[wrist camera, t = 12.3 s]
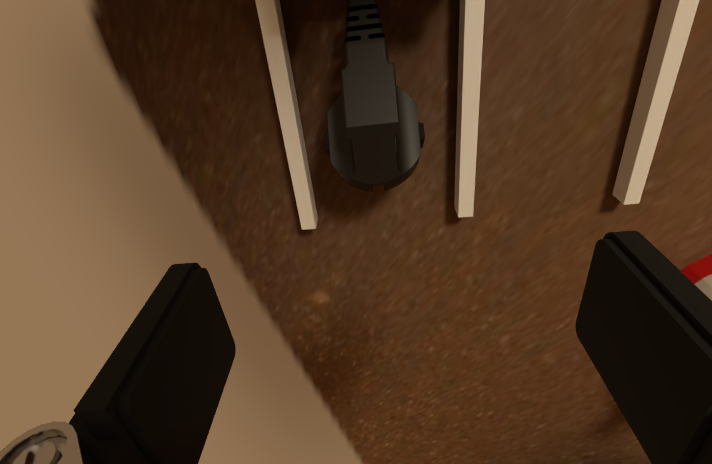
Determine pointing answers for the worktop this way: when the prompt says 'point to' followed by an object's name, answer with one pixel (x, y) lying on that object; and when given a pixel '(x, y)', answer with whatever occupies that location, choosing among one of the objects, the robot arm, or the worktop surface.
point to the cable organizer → (640, 140)
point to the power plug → (371, 109)
